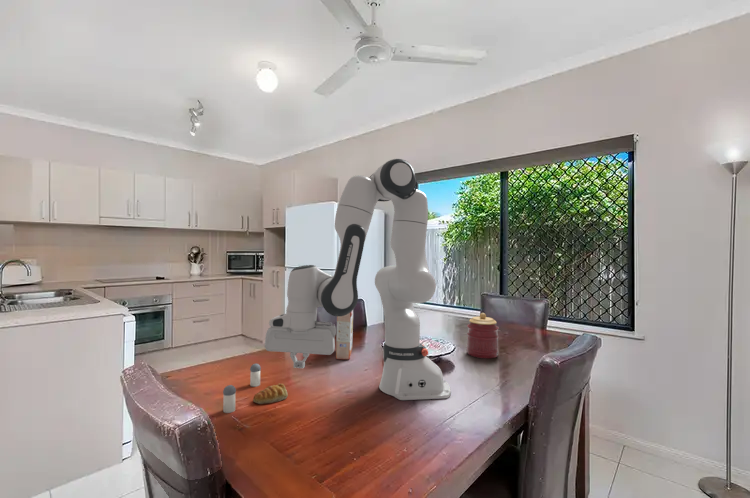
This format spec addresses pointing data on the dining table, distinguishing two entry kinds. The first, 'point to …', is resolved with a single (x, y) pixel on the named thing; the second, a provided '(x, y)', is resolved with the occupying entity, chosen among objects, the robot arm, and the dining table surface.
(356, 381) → the dining table surface
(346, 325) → the cracker box
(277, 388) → the pastry
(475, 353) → the canister
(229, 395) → the posts
